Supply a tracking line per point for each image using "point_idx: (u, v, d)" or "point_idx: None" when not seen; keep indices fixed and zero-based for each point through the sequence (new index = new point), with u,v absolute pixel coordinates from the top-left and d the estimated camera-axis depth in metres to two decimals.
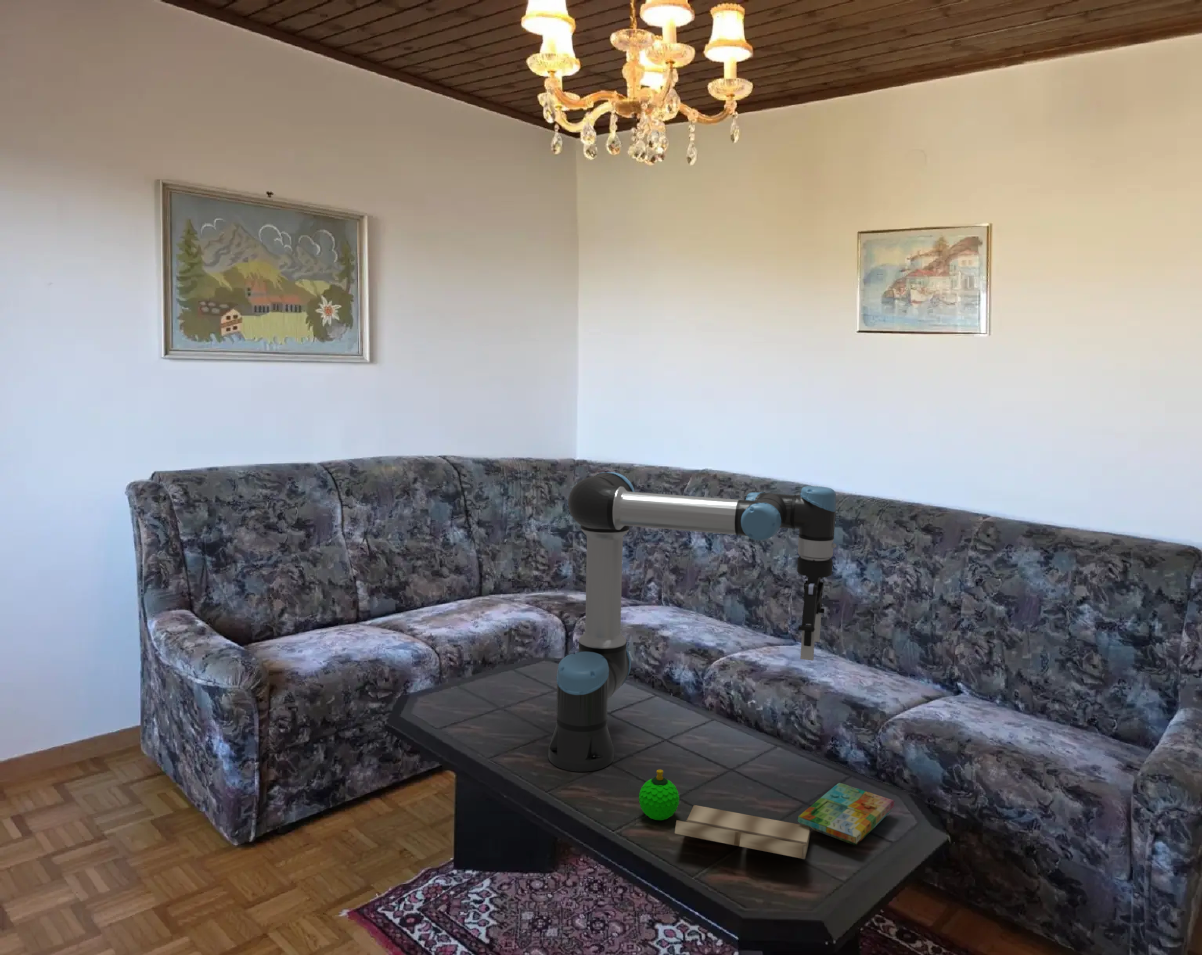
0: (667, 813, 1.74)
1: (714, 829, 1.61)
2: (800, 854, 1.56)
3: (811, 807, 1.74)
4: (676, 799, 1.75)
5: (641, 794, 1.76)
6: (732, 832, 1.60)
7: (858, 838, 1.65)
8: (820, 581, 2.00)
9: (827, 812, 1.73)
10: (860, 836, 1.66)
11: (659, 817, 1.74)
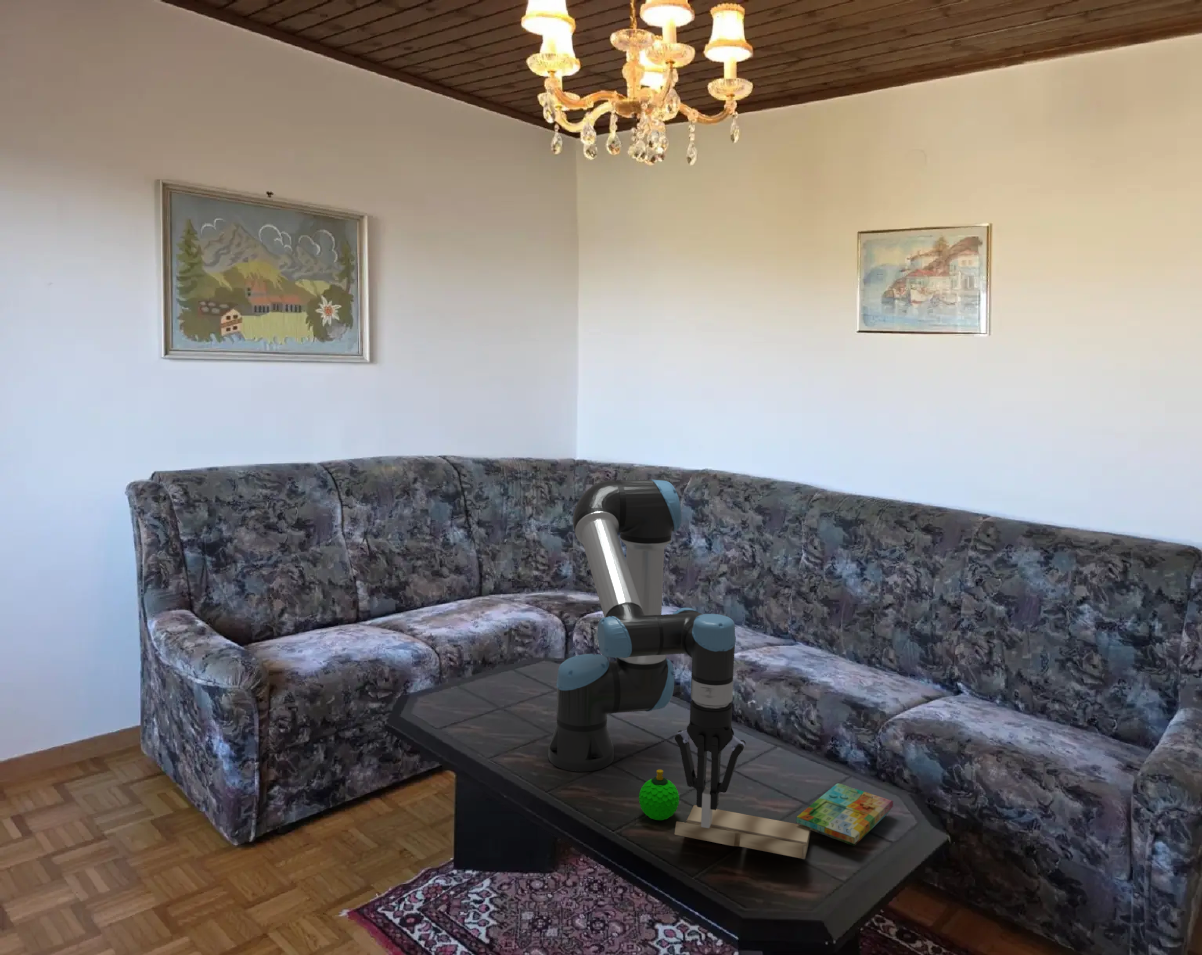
0: (667, 813, 1.74)
1: (714, 830, 1.61)
2: (800, 854, 1.56)
3: (809, 807, 1.74)
4: (676, 799, 1.75)
5: (641, 794, 1.76)
6: (732, 833, 1.60)
7: (856, 838, 1.65)
8: (731, 748, 1.58)
9: (825, 813, 1.72)
10: (858, 836, 1.65)
11: (659, 817, 1.74)
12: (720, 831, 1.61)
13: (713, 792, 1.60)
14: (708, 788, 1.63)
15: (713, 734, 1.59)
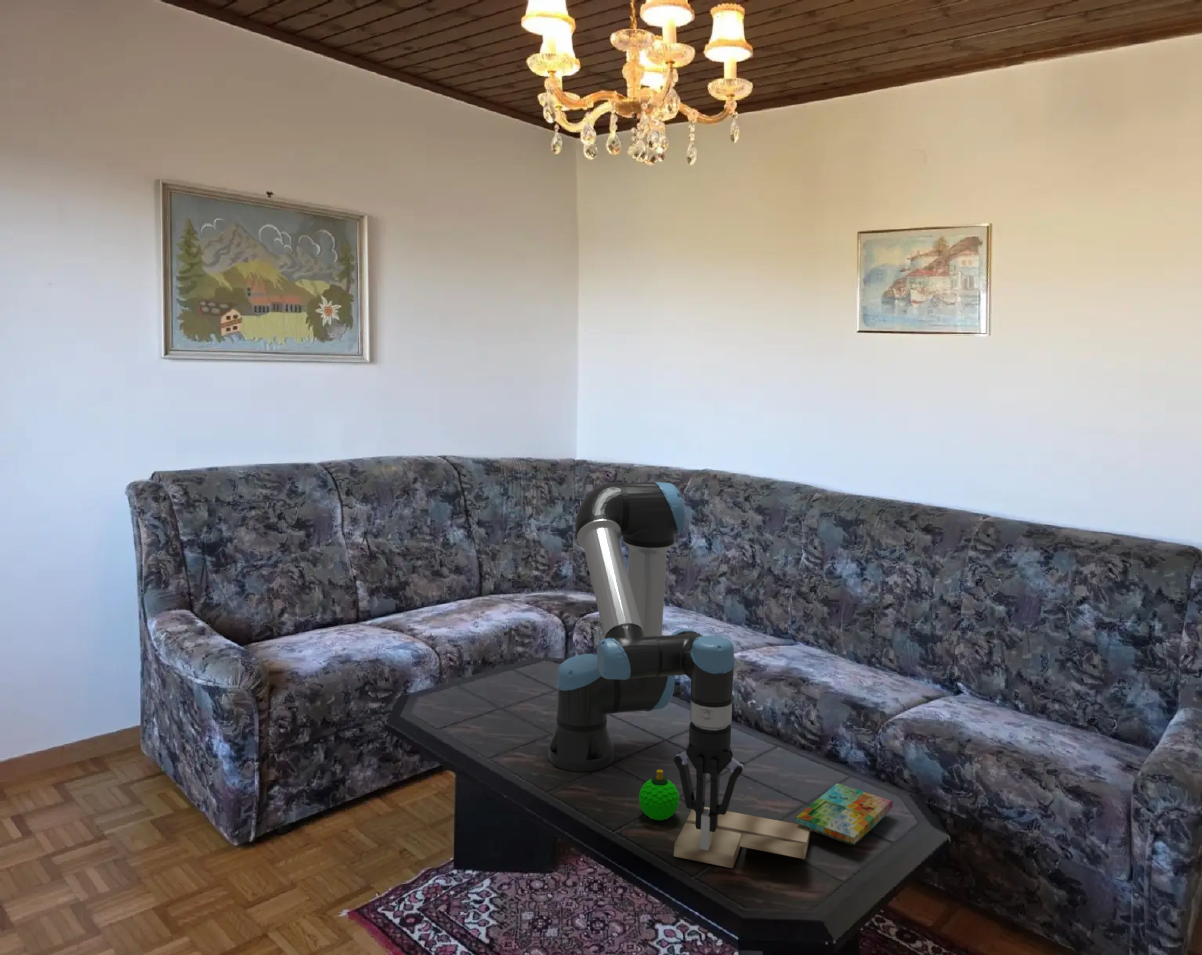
0: (667, 813, 1.74)
1: (712, 853, 1.61)
2: (800, 854, 1.56)
3: (809, 807, 1.74)
4: (676, 799, 1.75)
5: (641, 794, 1.76)
6: (730, 856, 1.60)
7: (856, 839, 1.65)
8: (730, 770, 1.58)
9: (825, 813, 1.72)
10: (858, 837, 1.65)
11: (659, 817, 1.74)
12: (718, 854, 1.60)
13: (712, 814, 1.60)
14: (707, 810, 1.63)
15: (712, 756, 1.59)
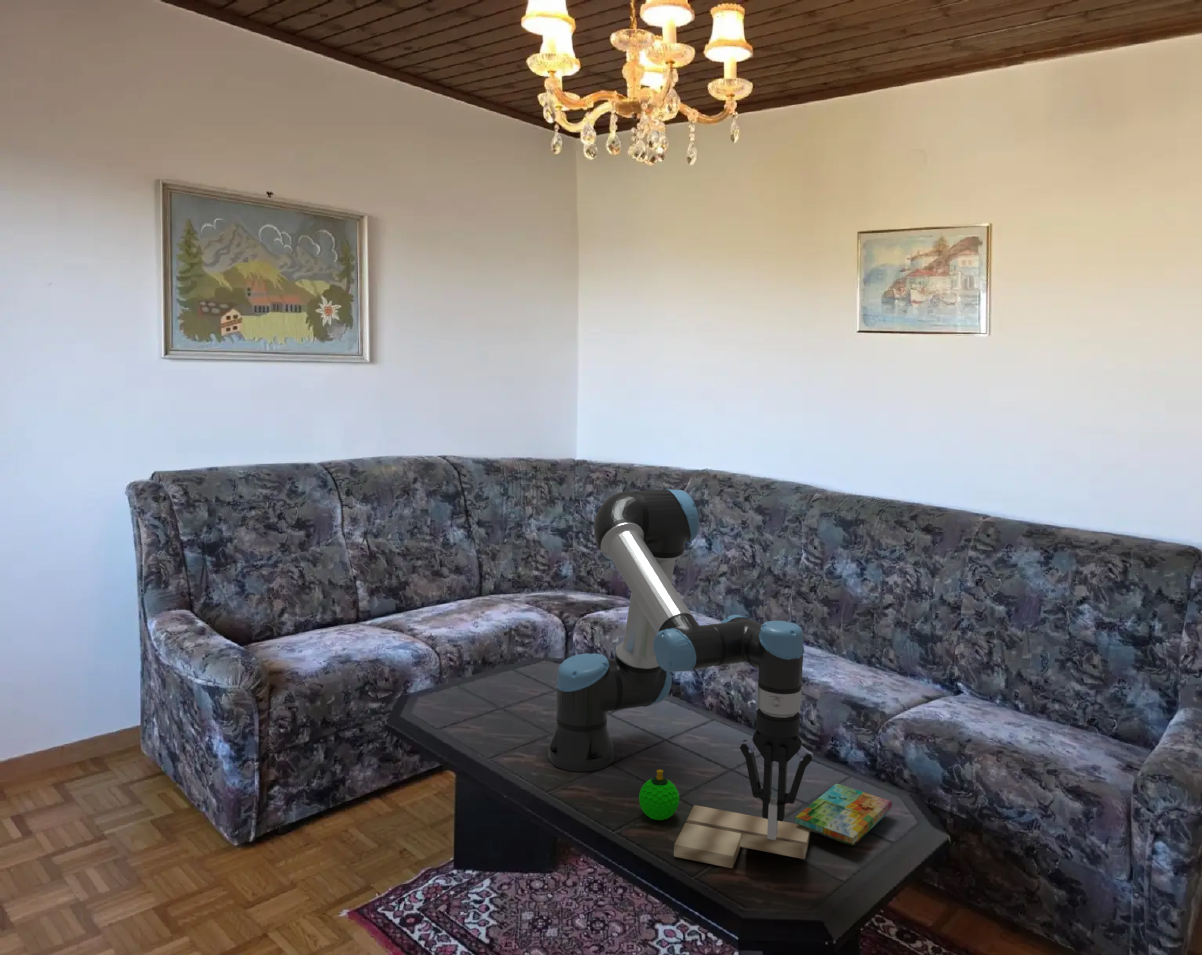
0: (667, 813, 1.74)
1: (712, 853, 1.61)
2: (800, 854, 1.56)
3: (808, 808, 1.74)
4: (676, 799, 1.75)
5: (641, 794, 1.76)
6: (730, 857, 1.60)
7: (855, 839, 1.64)
8: (799, 758, 1.54)
9: (824, 813, 1.72)
10: (857, 837, 1.65)
11: (659, 817, 1.74)
12: (718, 854, 1.60)
13: (780, 803, 1.56)
14: (774, 799, 1.59)
15: (780, 744, 1.55)
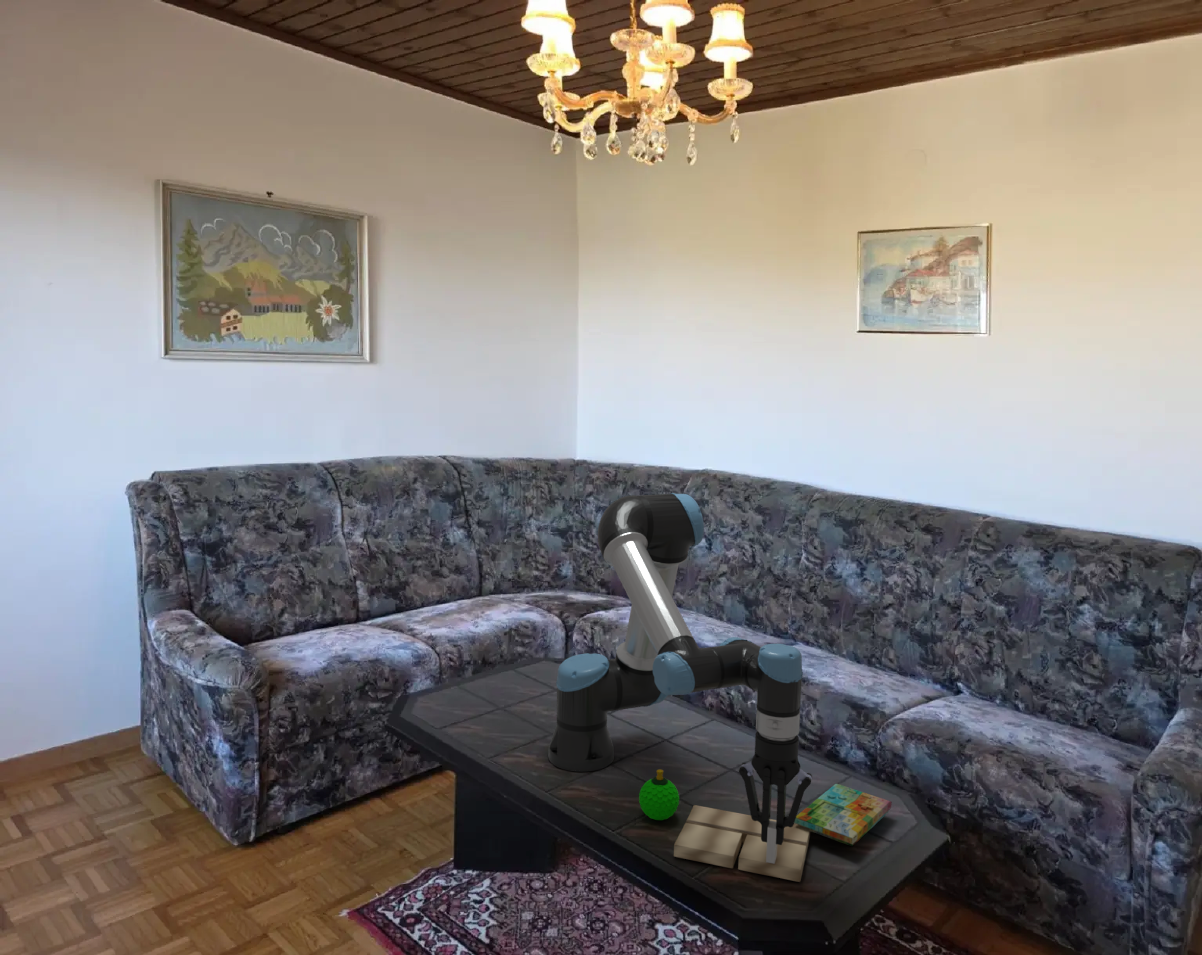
0: (667, 813, 1.74)
1: (712, 853, 1.61)
2: (799, 878, 1.56)
3: (808, 808, 1.74)
4: (676, 799, 1.75)
5: (641, 794, 1.76)
6: (730, 857, 1.60)
7: (854, 839, 1.64)
8: (798, 781, 1.55)
9: (823, 813, 1.72)
10: (856, 837, 1.65)
11: (659, 817, 1.74)
12: (718, 854, 1.60)
13: (779, 827, 1.56)
14: (773, 822, 1.59)
15: (779, 767, 1.55)
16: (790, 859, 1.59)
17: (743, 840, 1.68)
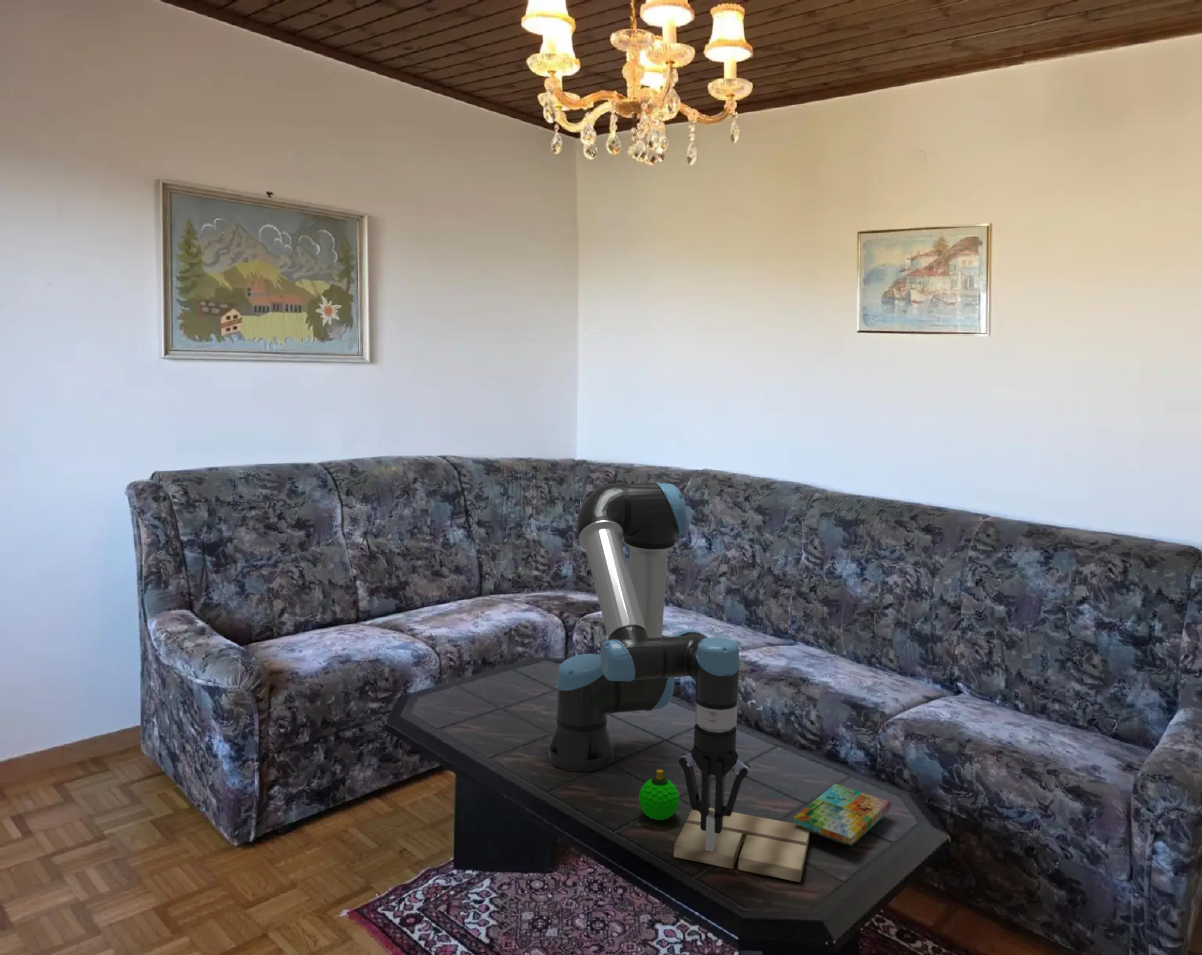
0: (667, 813, 1.74)
1: (712, 854, 1.61)
2: (798, 878, 1.56)
3: (807, 808, 1.74)
4: (676, 799, 1.75)
5: (641, 794, 1.76)
6: (730, 857, 1.60)
7: (853, 839, 1.64)
8: (735, 772, 1.58)
9: (822, 814, 1.72)
10: (855, 837, 1.65)
11: (659, 817, 1.74)
12: (718, 855, 1.61)
13: (717, 816, 1.59)
14: (712, 811, 1.62)
15: (717, 758, 1.59)
16: (790, 859, 1.59)
17: (743, 840, 1.68)
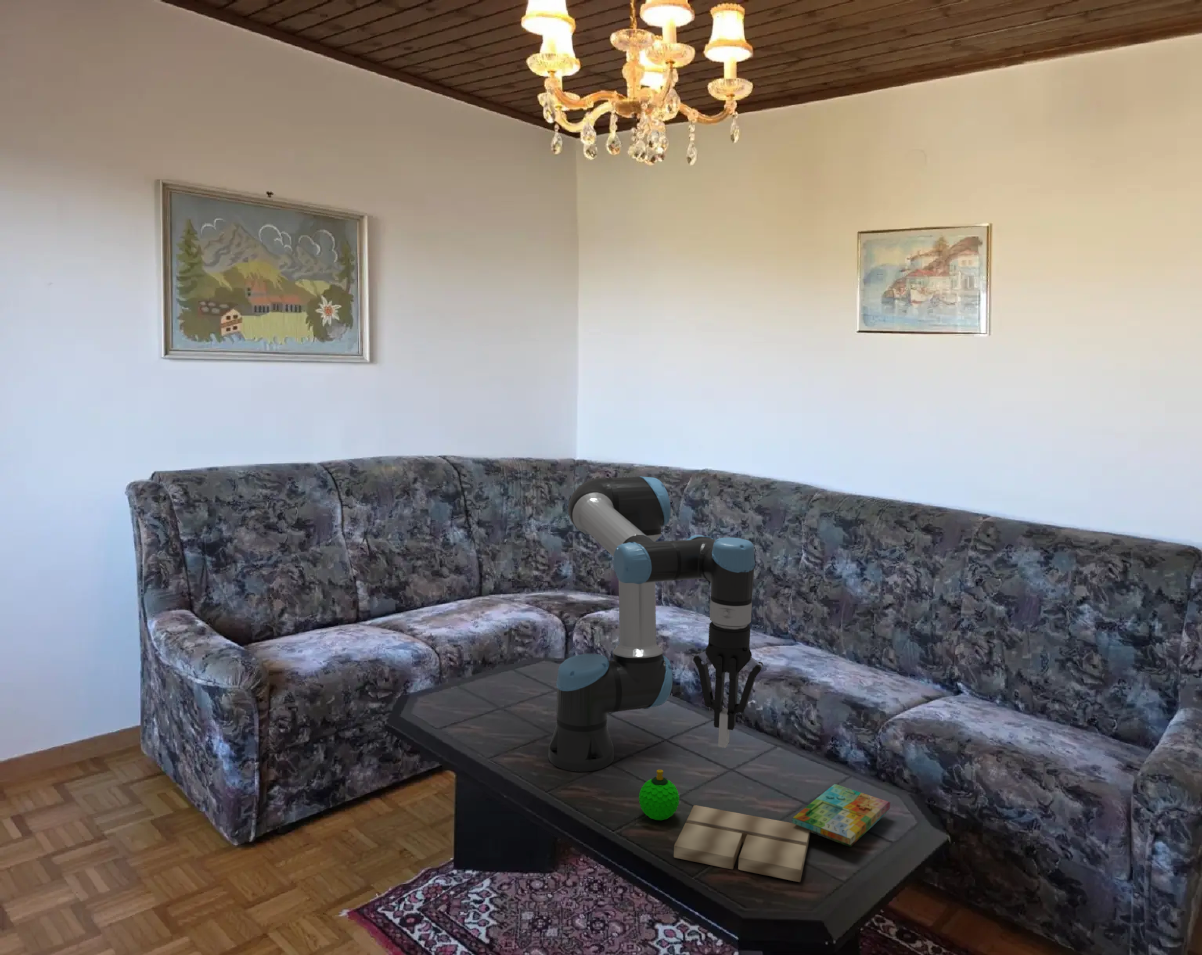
0: (667, 813, 1.74)
1: (712, 854, 1.61)
2: (798, 878, 1.56)
3: (806, 808, 1.74)
4: (676, 799, 1.75)
5: (641, 794, 1.76)
6: (730, 858, 1.60)
7: (852, 839, 1.64)
8: (749, 669, 1.61)
9: (821, 814, 1.72)
10: (854, 837, 1.65)
11: (659, 817, 1.74)
12: (718, 855, 1.61)
13: (730, 712, 1.62)
14: (725, 709, 1.65)
15: (731, 655, 1.61)
16: (790, 859, 1.59)
17: (743, 840, 1.68)
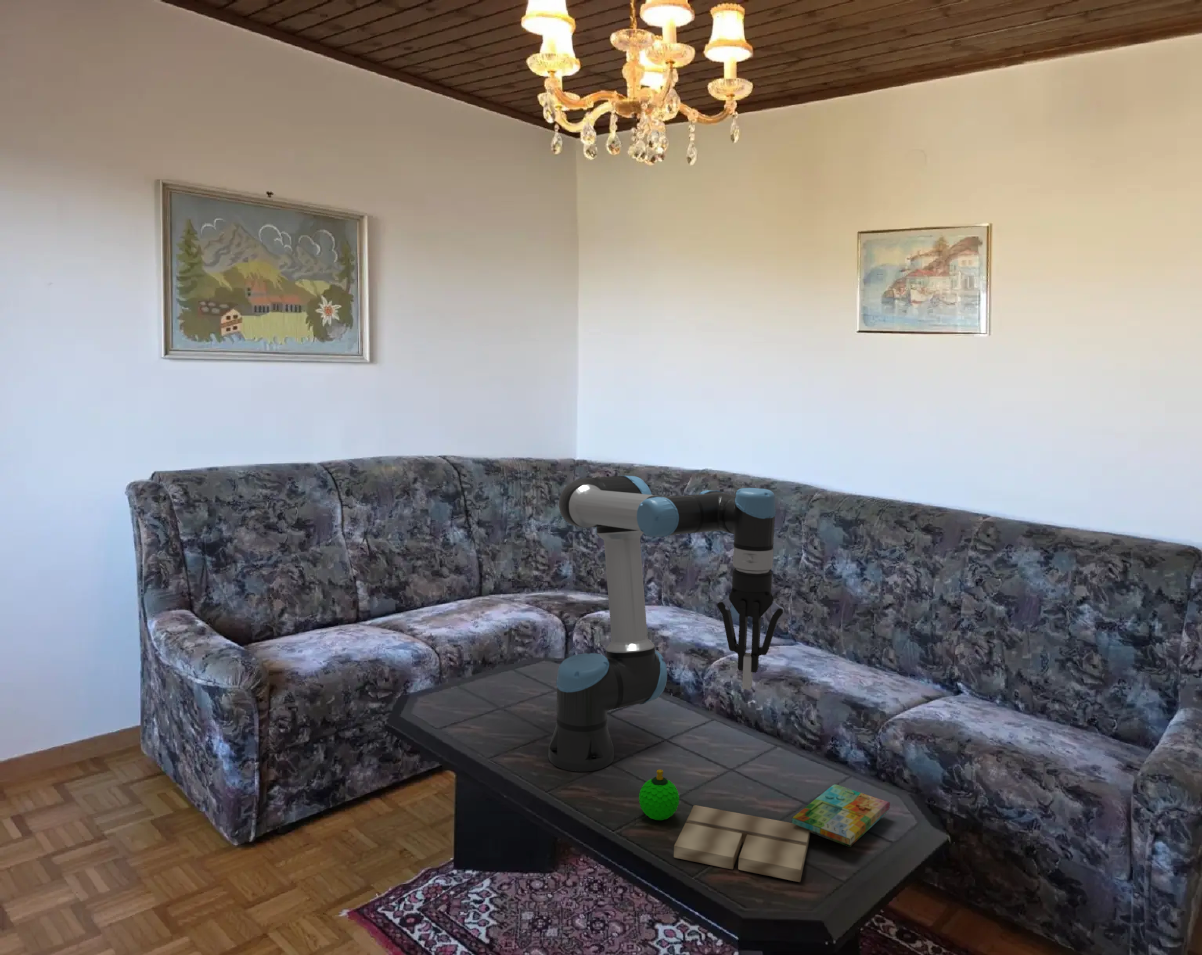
0: (667, 813, 1.74)
1: (712, 854, 1.61)
2: (798, 878, 1.56)
3: (805, 808, 1.74)
4: (676, 799, 1.75)
5: (641, 794, 1.76)
6: (730, 858, 1.60)
7: (852, 839, 1.64)
8: (771, 612, 1.68)
9: (821, 814, 1.72)
10: (854, 838, 1.65)
11: (659, 817, 1.74)
12: (718, 855, 1.61)
13: (754, 655, 1.70)
14: (748, 653, 1.73)
15: (754, 600, 1.69)
16: (790, 859, 1.59)
17: (743, 840, 1.68)
